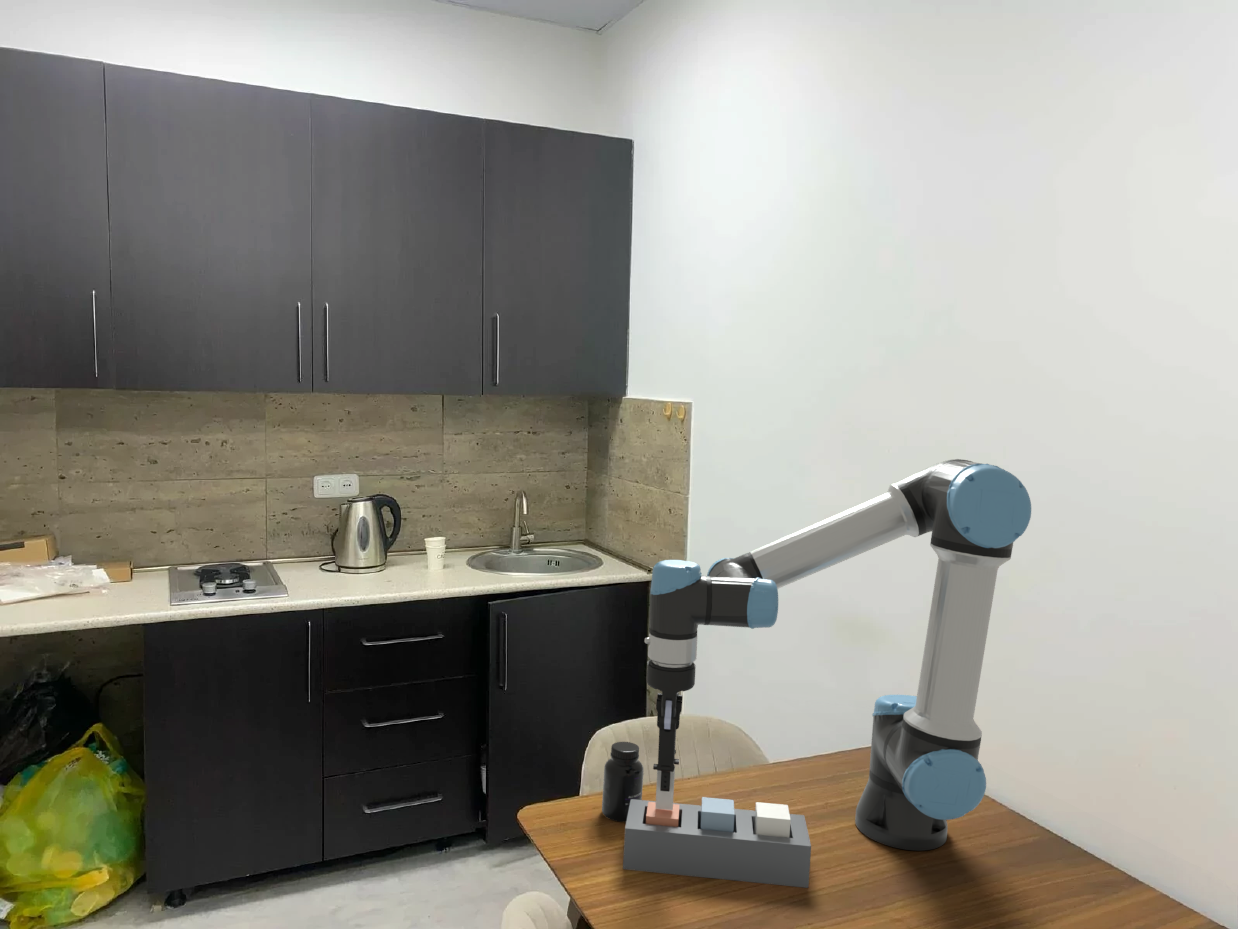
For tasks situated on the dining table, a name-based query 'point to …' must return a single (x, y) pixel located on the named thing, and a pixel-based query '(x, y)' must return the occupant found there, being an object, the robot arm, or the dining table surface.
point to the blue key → (717, 814)
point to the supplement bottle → (621, 780)
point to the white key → (772, 820)
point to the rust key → (662, 815)
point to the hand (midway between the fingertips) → (664, 807)
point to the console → (717, 848)
